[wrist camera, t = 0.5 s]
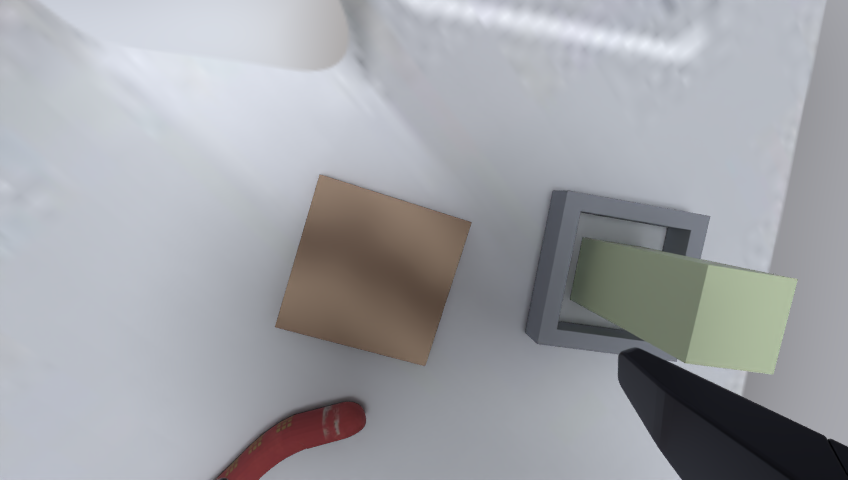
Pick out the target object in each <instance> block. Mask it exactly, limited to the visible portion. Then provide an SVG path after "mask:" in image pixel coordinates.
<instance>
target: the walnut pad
mask: <svg viewBox="0 0 848 480" xmlns="http://www.w3.org/2000/svg"><path fill="white" fill-rule="evenodd" d="M471 223H472V222H469V221H466V220H463V219H459V218H456V217H453V216H450V215H447V214H444V213H440V212H437V211H434V210H431V209H428V208H425V207H421V206H418V205H415V204H412V203H409V202H406V201H402V200H399V199H396V198H393V197H390V196H387V195H383V194H380V193H377V192H374V191H371V190H368V189H364V188H361V187H358V186H355V185H352V184H349V183H345V182H342V181H339V180H336V179H333V178H330V177H326V176H323V175H319V178H318V182H317V185H316V189H315V192H314V196H313V199H312V202H311V206H310V209H309V213H308V216H307V219H306V223H305V226H304V230H303V233H302V236H301V240H300V243H299V247H298V250H297V254H296V257H295V260H294V264H293V267H292V271H291V274H290V277H289V281H288V284H287V288H286V291H285V294H284V298H283V301H282V305H281V308H280V312H279V315H278V318H277V322H276V325H275V327H276V328H280V329H284V330H288V331H292V332H296V333H300V334H303V335H307V336H311V337H315V338H319V339H323V340H327V341H330V342H334V343H338V344H342V345H346V346H350V347H354V348H357V349H361V350H365V351H369V352H373V353H377V354H381V355H384V356H388V357H392V358H396V359H400V360H404V361H408V362H411V363H415V364H419V365H423V366H425V365H426V362H427V359H428V356H429V353H430V350H431V346H432V343H433V340H434V337H435V334H436V331H437V328H438V325H439V322H440V319H441V316H442V313H443V309H444V306H445V303H446V300H447V297H448V294H449V291H450V288H451V285H452V282H453V279H454V275H455V272H456V269H457V266H458V263H459V260H460V257H461V254H462V251H463V248H464V245H465V241H466V238H467V235H468V232H469V229H470V226H471Z"/></svg>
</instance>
